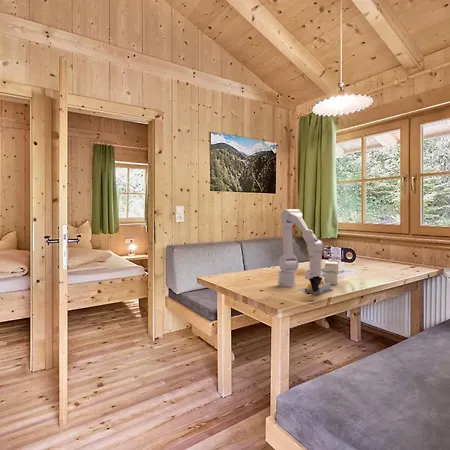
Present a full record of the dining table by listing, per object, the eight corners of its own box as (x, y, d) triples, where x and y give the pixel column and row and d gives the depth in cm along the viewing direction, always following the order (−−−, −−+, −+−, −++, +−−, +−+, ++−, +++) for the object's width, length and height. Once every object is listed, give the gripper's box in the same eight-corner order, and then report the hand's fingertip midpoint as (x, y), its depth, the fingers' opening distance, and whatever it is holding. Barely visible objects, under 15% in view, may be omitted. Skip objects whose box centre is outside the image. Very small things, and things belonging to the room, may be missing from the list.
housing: (318, 296, 158) (318, 292, 158) (297, 291, 168) (297, 287, 168) (333, 291, 167) (333, 287, 167) (312, 287, 177) (312, 283, 177)
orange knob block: (321, 290, 166) (321, 282, 165) (315, 289, 169) (315, 280, 169) (325, 289, 168) (325, 281, 168) (319, 288, 171) (319, 279, 171)
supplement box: (323, 284, 184) (324, 262, 183) (324, 281, 191) (325, 260, 190) (337, 285, 181) (337, 263, 180) (337, 282, 188) (337, 261, 187)
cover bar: (320, 294, 158) (320, 287, 158) (315, 293, 160) (315, 286, 160) (333, 290, 166) (333, 283, 166) (328, 289, 168) (328, 282, 168)
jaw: (314, 292, 162) (314, 284, 161) (307, 291, 165) (308, 282, 164) (318, 291, 164) (319, 282, 164) (312, 290, 167) (312, 281, 167)
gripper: (313, 267, 150) (313, 295, 151) (330, 264, 160) (329, 290, 160) (301, 265, 156) (301, 292, 156) (318, 262, 165) (317, 287, 166)
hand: (315, 291), depth 159 cm, fingers closed
